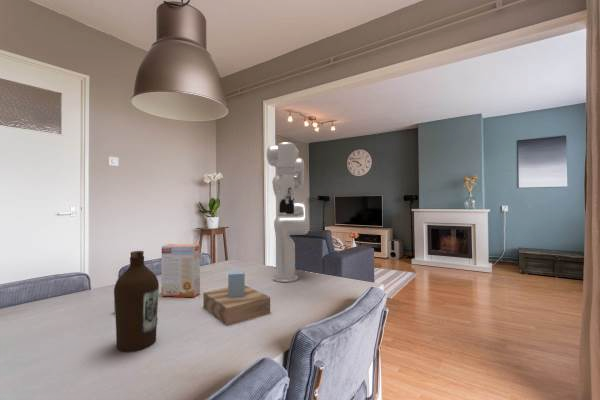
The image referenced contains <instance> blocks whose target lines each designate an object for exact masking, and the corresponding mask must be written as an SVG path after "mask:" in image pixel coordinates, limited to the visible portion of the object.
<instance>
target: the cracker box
mask: <svg viewBox="0 0 600 400" xmlns="http://www.w3.org/2000/svg"><path fill="white" fill-rule="evenodd" d="M200 247H201V245H200V243H199V244H198V243H197V244H196V243H195V244H194V243H193V244H192V243H191V244H189V243H187V244H186V243H185V244H184V243H168V244H164V245H161V297H162V296H174V298H175V297H176V298H196V296H198V295H199V294H200V293H201V248H200Z"/></svg>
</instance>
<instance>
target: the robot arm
mask: <svg viewBox="0 0 600 400" xmlns="http://www.w3.org/2000/svg"><path fill="white" fill-rule="evenodd" d="M277 144H278V145H270V146H268V147H267V149H266V159H267V163H268V165H270V166H272V167H274V168H276V169H277V170H276V171H277V172H276V173H277V175H275V176H274V177H273V178H272V190H273V193H274V196H275V199H276V202H277V203H276V213H277V217H276V218H275V219H274V222H273V227H274V235H275V275H273V276H272V280H273V281H275V282H277V283H291V282H295V281H298V279H299V276H298V275H296V244H295V241H294V239H293V238H292V237H291V236H297V235H298V236H299V235H306V234H308V233H309V231H310V220H309V211H308V206H307V204H306V202H304V201H299V200H297V201H296V200H295V193H296V192H295V191H296V190H301V189H303V187H304V184H305V161H304V159H303V158H301V157H300V156H299V155H300V152H299V149H298V148H297V147H296V145H295V143H293V142H290V141H289V142H288V141H287V142H286V141H283V142H282V141H281V142H280V143H277Z"/></svg>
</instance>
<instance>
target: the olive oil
mask: <svg viewBox="0 0 600 400" xmlns="http://www.w3.org/2000/svg"><path fill="white" fill-rule="evenodd" d="M144 252H145V251H144V250H134V251H130V257H129V267H128V268H127V269H126V270H125V271H124V272H122V274H121V275H120V276H119V277H118V279H117V280H116V282H115V285H114V287H113V295H114V296H113V297H114V299H113V301H114V300H115V314H114V315H115V316H114V317H115V334H116V340H115V341H116V349H117V350H118V352H119V351H120V352H122V353H123V352H125V353H126V352H127V353H128V352H129V353H130V352H131V353H132V352H136V351H141V350H144V349H147V348H149V347H150V346H152V345H153V344H155V343H156V340H157V325H158V306H159V305H158V304H159V303H158V302H159V290H160V288H159V287H160V285H159V280H158V277H157V275H156V274H155V273H154V272H153V271H152V270H151V269H149V268H148V267H147V266H146V265H145V256H144Z"/></svg>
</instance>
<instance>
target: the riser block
mask: <svg viewBox="0 0 600 400" xmlns="http://www.w3.org/2000/svg"><path fill="white" fill-rule="evenodd" d="M202 296H203V297H202V299H203V302H202V303H203V304H202V305H203V306H202V307H203V308H204V310H206V311H208V312H209V313H210V314H212V315H213V316H214V317H215V318H216V319H218V320H219V321H220V322H221V323H223V324H224V325H226V326H230V325H231V326H232V325H233V324H237V323H240V322H244V321H248V320H251V319H254V318H258V317H259V318H260V317H261V316H265V315H268V314H271V296H268V295H266V294H265V293H262V292H261V291H258V290H256V289H255V288H252V287H249V286H248V285H245V296H244V297H231V298H228V287H223V288H218V289H212V290H210V291H204V292H203V295H202Z"/></svg>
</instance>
